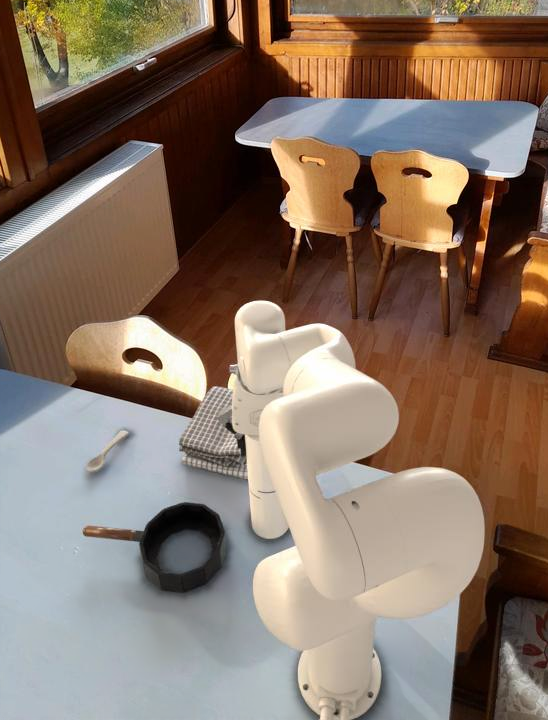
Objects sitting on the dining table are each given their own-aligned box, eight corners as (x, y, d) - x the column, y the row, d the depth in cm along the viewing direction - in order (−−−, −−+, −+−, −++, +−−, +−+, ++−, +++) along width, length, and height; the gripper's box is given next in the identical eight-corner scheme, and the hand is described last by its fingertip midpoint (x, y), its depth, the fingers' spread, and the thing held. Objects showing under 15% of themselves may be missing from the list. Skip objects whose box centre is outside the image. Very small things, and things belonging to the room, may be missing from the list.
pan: (214, 596, 111) (212, 580, 109) (69, 580, 113) (64, 564, 111) (233, 522, 123) (231, 506, 121) (102, 509, 125) (98, 493, 123)
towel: (278, 418, 145) (277, 391, 141) (246, 484, 130) (244, 457, 126) (215, 403, 149) (212, 377, 145) (176, 466, 134) (172, 439, 130)
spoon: (83, 473, 132) (82, 465, 131) (120, 433, 142) (119, 426, 141) (95, 477, 131) (94, 470, 130) (132, 437, 141) (131, 430, 140)
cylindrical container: (284, 542, 120) (280, 445, 107) (246, 534, 121) (238, 438, 108) (294, 508, 126) (291, 413, 113) (258, 502, 127) (251, 406, 114)
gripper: (202, 386, 102) (211, 465, 111) (314, 395, 100) (315, 474, 110) (214, 354, 108) (222, 431, 117) (320, 362, 107) (320, 439, 116)
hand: (267, 451), depth 113 cm, fingers closed on cylindrical container, 7 cm apart
